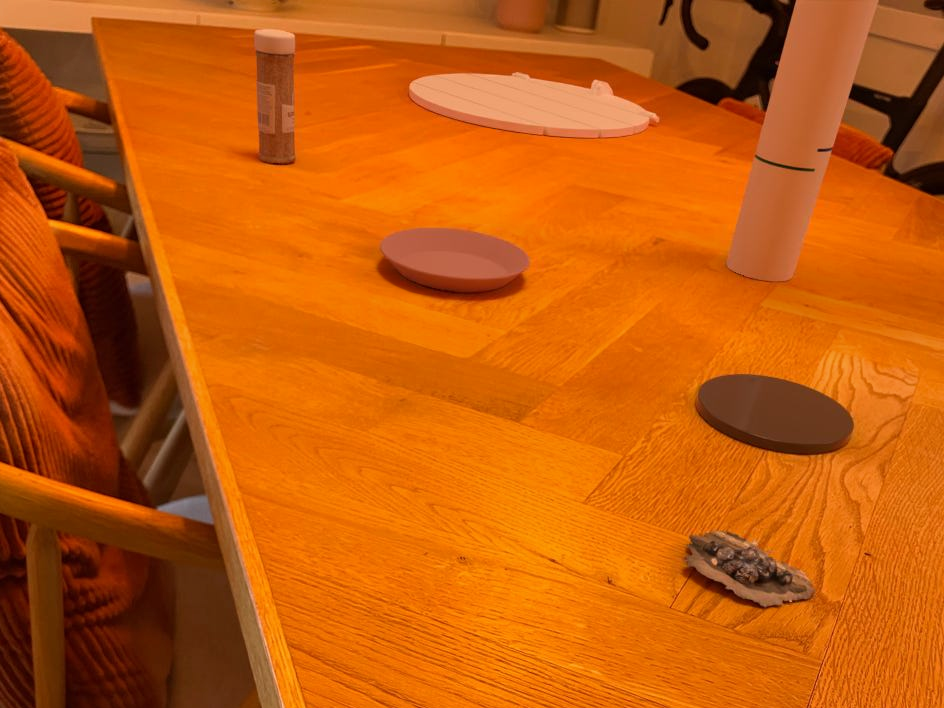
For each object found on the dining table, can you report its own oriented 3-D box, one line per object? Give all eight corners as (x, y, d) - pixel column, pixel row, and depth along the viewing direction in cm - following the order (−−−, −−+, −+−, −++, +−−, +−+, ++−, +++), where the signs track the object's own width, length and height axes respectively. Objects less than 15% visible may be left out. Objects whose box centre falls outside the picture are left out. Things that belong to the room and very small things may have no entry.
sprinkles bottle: (300, 164, 119) (300, 36, 111) (264, 165, 117) (261, 34, 109) (288, 154, 122) (287, 28, 114) (252, 155, 120) (249, 27, 112)
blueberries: (688, 529, 62) (695, 503, 61) (816, 560, 61) (826, 534, 60) (674, 586, 57) (682, 559, 56) (814, 621, 56) (826, 594, 54)
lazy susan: (531, 77, 183) (533, 56, 181) (699, 127, 162) (704, 104, 160) (359, 86, 160) (360, 61, 158) (530, 146, 139) (534, 119, 137)
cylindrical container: (806, 277, 105) (894, 1, 90) (761, 284, 102) (845, -2, 86) (757, 255, 110) (833, -12, 94) (712, 261, 106) (783, -15, 91)
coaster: (862, 411, 79) (866, 402, 79) (834, 470, 71) (838, 460, 70) (719, 370, 83) (721, 361, 82) (675, 421, 74) (678, 411, 74)
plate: (548, 299, 92) (551, 278, 90) (398, 300, 88) (399, 277, 86) (500, 248, 102) (503, 228, 101) (365, 246, 98) (365, 226, 97)
